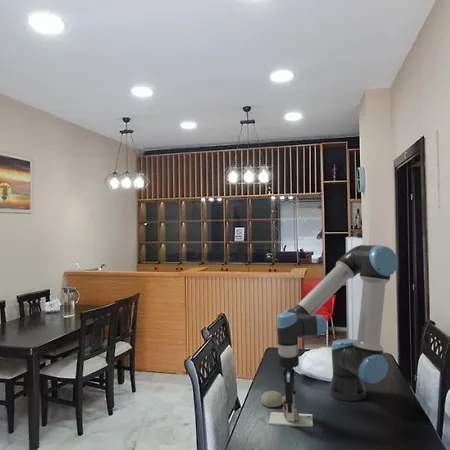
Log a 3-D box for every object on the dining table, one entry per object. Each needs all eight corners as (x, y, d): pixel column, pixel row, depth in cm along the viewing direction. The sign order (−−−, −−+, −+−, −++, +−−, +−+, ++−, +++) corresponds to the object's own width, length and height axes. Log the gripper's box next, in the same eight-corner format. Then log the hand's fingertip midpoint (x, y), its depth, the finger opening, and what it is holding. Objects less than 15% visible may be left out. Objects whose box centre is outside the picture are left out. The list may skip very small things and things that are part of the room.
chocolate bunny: (295, 411, 160) (294, 386, 160) (300, 421, 152) (299, 394, 152) (281, 413, 160) (280, 387, 160) (285, 422, 152) (284, 395, 152)
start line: (312, 415, 160) (312, 414, 160) (312, 416, 159) (312, 416, 159) (271, 413, 164) (271, 412, 164) (270, 414, 162) (270, 413, 162)
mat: (312, 418, 158) (312, 416, 158) (312, 426, 151) (312, 425, 151) (270, 416, 161) (270, 414, 161) (268, 424, 154) (268, 422, 154)
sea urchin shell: (284, 404, 167) (270, 389, 168) (271, 417, 168) (257, 403, 169) (286, 395, 176) (272, 381, 177) (273, 408, 177) (260, 394, 178)
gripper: (280, 347, 167) (282, 404, 166) (276, 362, 147) (278, 428, 147) (299, 347, 165) (301, 405, 165) (297, 363, 146) (300, 429, 146)
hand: (290, 416), depth 156 cm, fingers closed on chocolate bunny, 7 cm apart
